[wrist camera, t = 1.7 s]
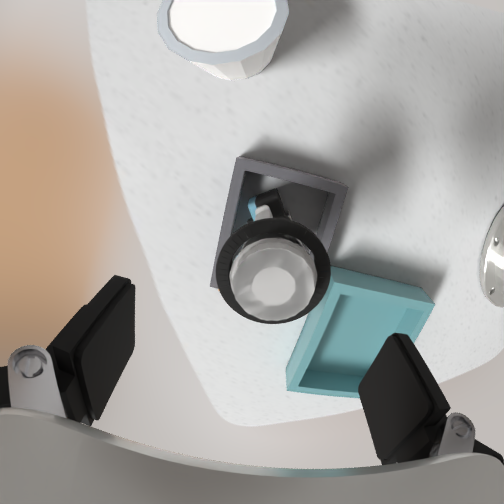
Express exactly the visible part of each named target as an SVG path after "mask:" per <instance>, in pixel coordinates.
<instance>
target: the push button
mask: <svg viewBox="0 0 504 504" xmlns="http://www.w3.org/2000/svg"><path fill="white" fill-rule="evenodd" d="M248 208H249V211H250V213H251V216H252V218H251V219H248V221H247V222H248V224H246V225H244V226H242V227H241V228H239V229H238V230H237V231H235V232H234V233H233V234H232V235H231V236H230V237H229V238H228V239H227V241H226V242H225V244H224V245H223V247H222V249H221V251H220V253H219V256H218V259H217V263H216V281H217V285H218V288H219V291H220V293H221V295H222V297H223V298H224V300H225V301H226V303H227V304H228V305H229V306H230V307H231V308H232V309H233V310H234V311H236V312H237V313H238V314H240V315H242V316H243V317H245V318H247V319H250V320H252V321H256V322H260V323H266V324H280V323H286V322H290V321H293V320H296V319H298V318H301V317H303V316H304V315H306V314H307V313H309V312H310V311H312V310H313V309H314V308H315V307H316V306H317V305H318V304H319V303H320V301H321V300H322V299H323V297H324V295H325V294H326V291H327V289H328V286H329V283H330V277H331V266H330V260H329V257H328V254H327V252H326V249H325V247H324V246H323V244H322V242H321V241H320V240H319V238H318V237H317V236H316V235H315V234H314V233H313V232H312V231H311V230H309V229H308V228H306V227H305V226H303V225H301V224H299V223H297V222H294V221H293V220H292V217H291V215H290V212H289V211H288V213H289V215H288V216H287V215H286V214H285V212H284V209H283V205H282V202H281V199H280V196H279V193H278V191H277V189H274V190H271V191H268V192H266V193H263V194H260V195H258V196H255V197H252V198H250V199H249V202H248ZM301 242H303V243H304V244H305V245H306V246H307V247H308V248H309V249H310V250H311V252H312V253H313V255H314V261H313V259H312V257H311V256H310V255H309V254H308V253H307V251H306V248H305V247H304V246H303V244H302V243H301ZM243 243H244V245H243V247H242V249H241V251H240V253H239V254H238V255H237V256H236V258H235V259H234V261H233V264H232V257H233V255H234V253H235V252H236V250H237V249H238V248H239V247H240V246H241V245H242V244H243Z"/></svg>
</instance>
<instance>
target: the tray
mask: <svg viewBox="0 0 504 504" xmlns="http://www.w3.org/2000/svg"><path fill="white" fill-rule="evenodd" d="M434 306H435V303H434V302H433V301H432V300H431V299H430V298H429V296H428V295H427V294H426V293H425V292H424V291H423V289H422V288H421V287H417V286H413V285H409V284H405V283H401V282H396V281H392V280H388V279H384V278H380V277H376V276H372V275H368V274H363V273H359V272H355V271H351V270H347V269H343V268H339V267H334V266H331V277H330V283H329V286H328V289H327V291H326V294H325V295H324V297H323V299H322V300H321V301H320V303H319V304H318V305H317V306H316V307H315V308H314V309H313V310H312V311H310V312H309V314H308V316H307V319H306V321H305V324H304V326H303V329H302V331H301V334H300V336H299V339H298V341H297V343H296V346H295V348H294V351H293V353H292V355H291V358H290V360H289V362H288V365H287V367H286V385H287V391H293V392H301V393H309V394H317V395H327V396H337V397H350V398H360V396H359V393H358V386H359V384H360V382H361V380H362V379H363V377H364V376H365V374H366V373H367V371H368V369H369V368H370V366H371V364H372V363H373V361H374V359H375V358H376V356H377V354H378V353H379V351H380V349H381V347H382V346H383V344H384V342H385V340H386V339H387V337H388V336H391V334H393V333H403V334H407V335H408V336H409V337H410V339H411V340H412V342H413V343H414V342H415V340H416V338H417V337H418V335H419V333H420V332H421V330H422V328H423V326H424V324H425V323H426V321H427V319H428V317H429V315H430V313H431V312H432V310H433V308H434Z"/></svg>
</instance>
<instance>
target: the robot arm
mask: <svg viewBox="0 0 504 504" xmlns="http://www.w3.org/2000/svg"><path fill="white" fill-rule="evenodd" d="M480 283H481V287H482V291H483V293H484V295H485V297H486V298H487V299H488V300H489V301H490V302H491V303H492V304H494V305H495V306H498V307H504V206H503V207H502V209H501V210H500V212H499V213H498V215H497V216H496V217H495V219H494V221H493V223H492V225H491V227H490V230H489V232H488V235H487V237H486V240H485V244H484V247H483V251H482V256H481V262H480ZM134 346H135V285H133V284H131V280H130V279H128V278H124V277H121V276H117V275H114V276H113V277H112V278H111V279H110V280H109V281H108V282H107V284H106V285H105V286H104V287H103V288H102V289H101V290H100V291H99V292H98V293H97V294H96V295H95V297H94V298H93V299H92V300H91V301H90V302H89V303H88V304H87V305H84V306H83V307H81V309H80V310H79V311H78V312H77V313H76V314H75V315H74V316H73V318H72V319H71V320H70V321H69V322H68V323H67V325H66V326H65V327H64V328H63V329H62V330H61V331H60V333H59V334H58V335H57V336H56V337H55V339H54V340H53V341H52V342H51V343H50V345H49V346H48V347H47V348H46V350H45V349H43V348H41V347H39V346H35V345H27V346H23V347H20V348H18V349H16V350H15V351H14V352H13V353H12V354H11V356H10V358H9V360H8V366H4V367H0V504H504V459H503V457H502V455H501V454H499V453H497V452H496V451H494V450H492V449H491V448H489V447H487V446H486V445H484V444H482V443H480V442H479V441H477V440H476V439H475V428H474V425H473V423H472V422H471V420H470V419H469V418H468V417H466V416H465V415H463V414H461V413H451V414H450V415H449V416H448V417H446V413H447V412H448V411H449V410H450V406H449V404H448V402H447V400H446V398H445V396H444V395H443V393H442V391H441V389H440V387H439V386H438V384H437V382H436V380H435V379H434V377H433V375H432V373H431V372H430V370H429V368H428V367H427V365H426V363H425V361H424V360H423V358H422V357H421V355H420V353H419V352H418V350H417V348H416V347H415V345H414V343H413V342H412V340H411V339H410V337H409V336H408V335H407V334H403V333H393V334H391V336H388V337H387V339H386V340H385V342H384V344H383V346H382V347H381V349H380V351H379V353H378V354H377V356H376V358H375V359H374V361H373V363H372V364H371V366H370V368H369V369H368V371H367V373H366V374H365V376H364V377H363V379H362V380H361V382H360V384H359V386H358V393H359V396H360V400H361V403H362V406H363V409H364V412H365V416H366V419H367V423H368V426H369V429H370V433H371V436H372V439H373V443H374V447H375V450H376V454H377V457H378V458H379V459H380V460H381V463H382V465H380V466H370V467H358V468H343V469H342V468H341V469H288V468H271V467H258V466H250V465H241V464H233V463H226V462H220V461H214V460H208V459H202V458H198V457H192V456H188V455H183V454H179V453H175V452H170V451H167V450H163V449H159V448H155V447H152V446H147V445H144V444H141V443H138V442H134V441H131V440H128V439H124V438H122V437H119V436H116V435H112V434H110V433H107V432H104V431H102V430H99V429H96V428H93V427H90V426H91V425H92V423H93V421H94V419H95V420H99V419H100V417H101V415H102V413H103V411H104V409H105V406H106V404H107V402H108V400H109V398H110V396H111V394H112V392H113V390H114V388H115V386H116V384H117V382H118V380H119V378H120V376H121V374H122V372H123V370H124V368H125V366H126V364H127V362H128V360H129V358H130V357H131V355H132V353H133V350H134ZM82 423H83V424H82ZM84 424H86V425H84ZM87 425H88V426H87Z"/></svg>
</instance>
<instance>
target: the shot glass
mask: <svg viewBox="0 0 504 504" xmlns="http://www.w3.org/2000/svg"><path fill="white" fill-rule="evenodd" d="M288 14H289V7H288V2H287V0H163V1H162V3H161V5H160V8H159V10H158V12H157V24H158V33H159V35H160V37H161V38H162V40H163V41H164V43H165V45H166V46H167V48H168V49H169V50H171V51H172V52H174V53H176V54H177V55H179V56H181V57H182V58H184V59H186V60H187V61H189V62H191V63H193V64H194V65H196V66H198V67H200V68H202V69H203V70H205V71H207V72H209V73H210V74H212V75H214V76H215V77H217V78H222V79H227V80H231V81H232V80H240V79H247V78H249V77H251V76H253V75H255V74H258V73H260V72H261V71H262V70H263V69H264V68H265V67H266V66H267V65H268V64H269V63H270V62H271V59H272V56H273V54H274V51H275V49H276V46H277V44H278V41H279V39H280V36H281V34H282V31H283V28H284V26H285V23H286V20H287V17H288Z"/></svg>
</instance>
